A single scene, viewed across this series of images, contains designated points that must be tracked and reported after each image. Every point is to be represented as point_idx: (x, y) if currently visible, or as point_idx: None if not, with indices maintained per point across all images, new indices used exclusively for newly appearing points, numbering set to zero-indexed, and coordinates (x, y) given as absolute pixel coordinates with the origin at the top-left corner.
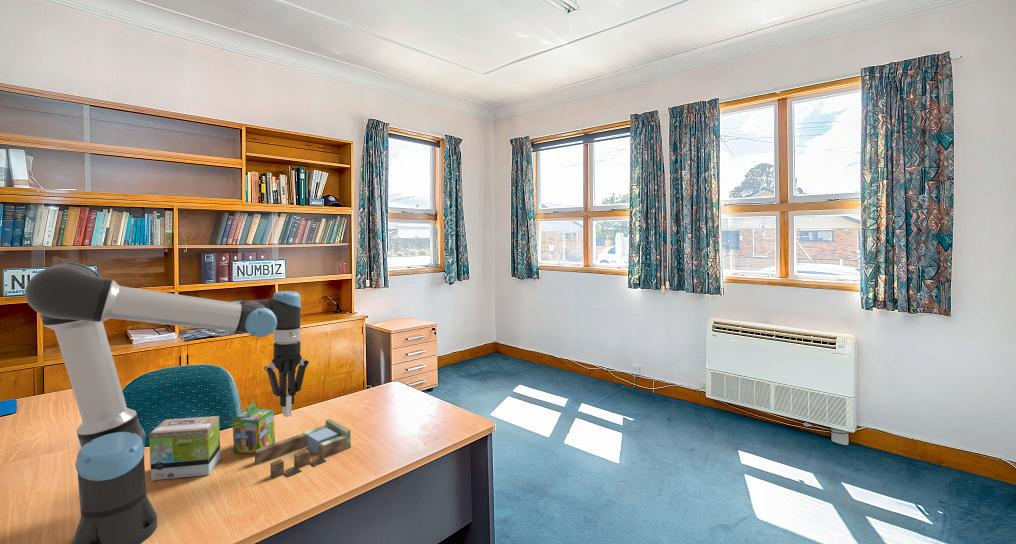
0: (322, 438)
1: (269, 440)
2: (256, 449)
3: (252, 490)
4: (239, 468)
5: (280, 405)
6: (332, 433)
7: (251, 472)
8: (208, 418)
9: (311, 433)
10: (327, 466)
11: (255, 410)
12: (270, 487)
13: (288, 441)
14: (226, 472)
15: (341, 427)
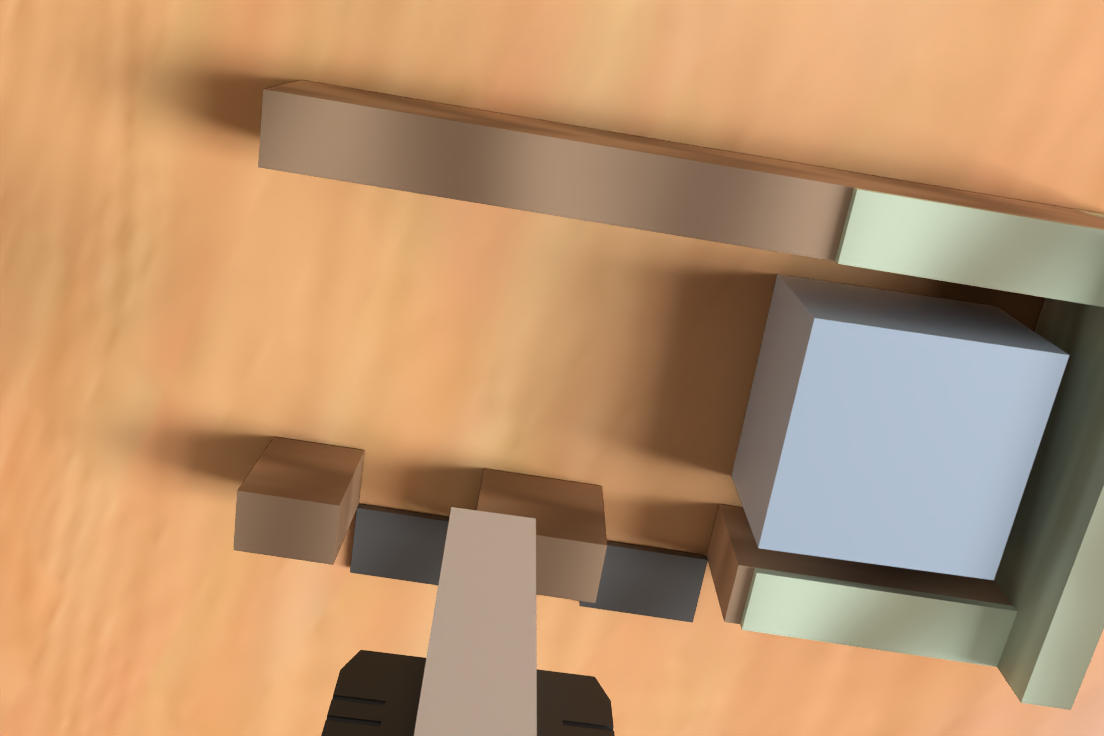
0: (828, 538)
1: None
2: (287, 94)
3: (76, 509)
4: (148, 62)
5: (355, 660)
6: (972, 532)
7: (192, 239)
8: None
9: (860, 337)
10: (640, 682)
11: None
12: (188, 582)
13: (620, 224)
14: (31, 27)
15: (1089, 584)
